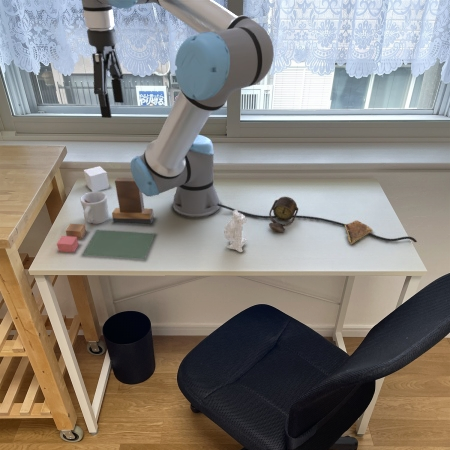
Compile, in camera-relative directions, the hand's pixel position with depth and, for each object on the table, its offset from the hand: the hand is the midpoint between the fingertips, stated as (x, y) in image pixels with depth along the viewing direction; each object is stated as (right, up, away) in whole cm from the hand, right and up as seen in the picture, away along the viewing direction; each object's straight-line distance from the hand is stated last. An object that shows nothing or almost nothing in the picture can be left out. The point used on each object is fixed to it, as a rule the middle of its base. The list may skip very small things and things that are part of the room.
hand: (113, 109), depth 133 cm
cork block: (-11, -38, 0) cm, 40 cm away
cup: (-7, -33, +6) cm, 34 cm away
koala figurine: (+37, -42, -4) cm, 56 cm away
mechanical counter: (+51, -33, +7) cm, 61 cm away
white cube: (-11, -17, +24) cm, 32 cm away
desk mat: (+3, -42, -4) cm, 42 cm away
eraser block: (-12, -43, -5) cm, 45 cm away
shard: (+75, -38, +1) cm, 84 cm away
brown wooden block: (+5, -33, +7) cm, 34 cm away
